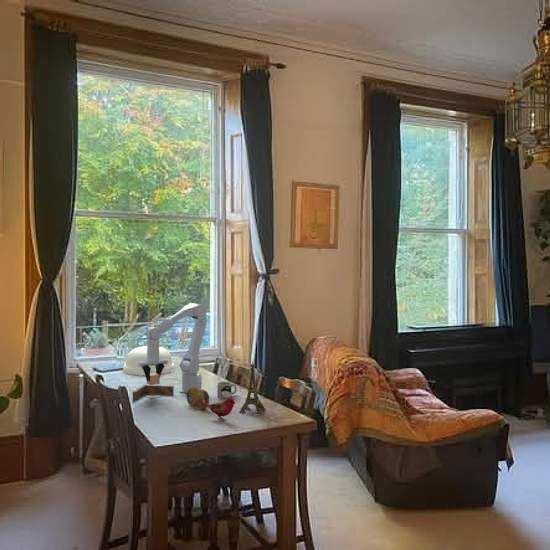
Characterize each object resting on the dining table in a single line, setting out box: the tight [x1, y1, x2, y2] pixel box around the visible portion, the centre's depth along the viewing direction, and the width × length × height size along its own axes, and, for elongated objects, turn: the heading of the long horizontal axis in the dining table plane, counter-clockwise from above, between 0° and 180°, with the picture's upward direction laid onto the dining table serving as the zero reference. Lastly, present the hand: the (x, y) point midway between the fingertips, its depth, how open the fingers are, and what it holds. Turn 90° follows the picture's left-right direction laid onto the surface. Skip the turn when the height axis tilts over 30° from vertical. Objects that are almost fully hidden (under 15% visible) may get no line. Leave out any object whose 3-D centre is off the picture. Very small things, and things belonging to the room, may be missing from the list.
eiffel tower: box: [238, 360, 266, 416], centre depth 245 cm, size 11×11×25 cm
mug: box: [216, 381, 238, 400], centre depth 270 cm, size 10×7×7 cm
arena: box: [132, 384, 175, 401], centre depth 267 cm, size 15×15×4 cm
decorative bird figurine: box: [201, 397, 236, 421], centre depth 232 cm, size 3×18×10 cm, turn 61°
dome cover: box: [122, 345, 175, 376], centre depth 330 cm, size 32×30×14 cm
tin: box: [186, 388, 210, 410], centre depth 250 cm, size 15×3×8 cm, turn 40°
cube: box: [146, 373, 161, 385], centre depth 267 cm, size 4×4×4 cm
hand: (153, 380), depth 267 cm, fingers closed on cube, 4 cm apart
